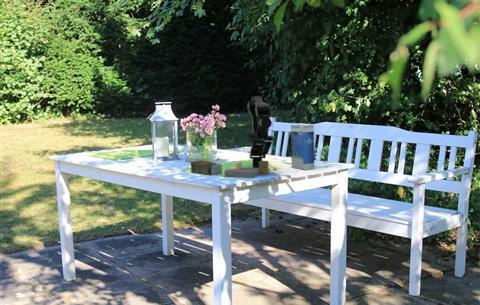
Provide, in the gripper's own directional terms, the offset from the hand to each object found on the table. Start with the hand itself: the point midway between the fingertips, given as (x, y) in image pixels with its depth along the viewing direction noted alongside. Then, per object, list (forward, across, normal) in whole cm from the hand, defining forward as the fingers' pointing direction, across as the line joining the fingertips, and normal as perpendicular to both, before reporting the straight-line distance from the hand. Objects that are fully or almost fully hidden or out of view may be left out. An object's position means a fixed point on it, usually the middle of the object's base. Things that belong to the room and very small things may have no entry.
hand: (263, 155), depth 314 cm
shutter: (+7, +9, -13) cm, 17 cm away
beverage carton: (+11, +6, -32) cm, 34 cm away
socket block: (+10, +9, -9) cm, 16 cm away
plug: (+10, 0, 0) cm, 10 cm away
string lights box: (+10, -25, +15) cm, 31 cm away
